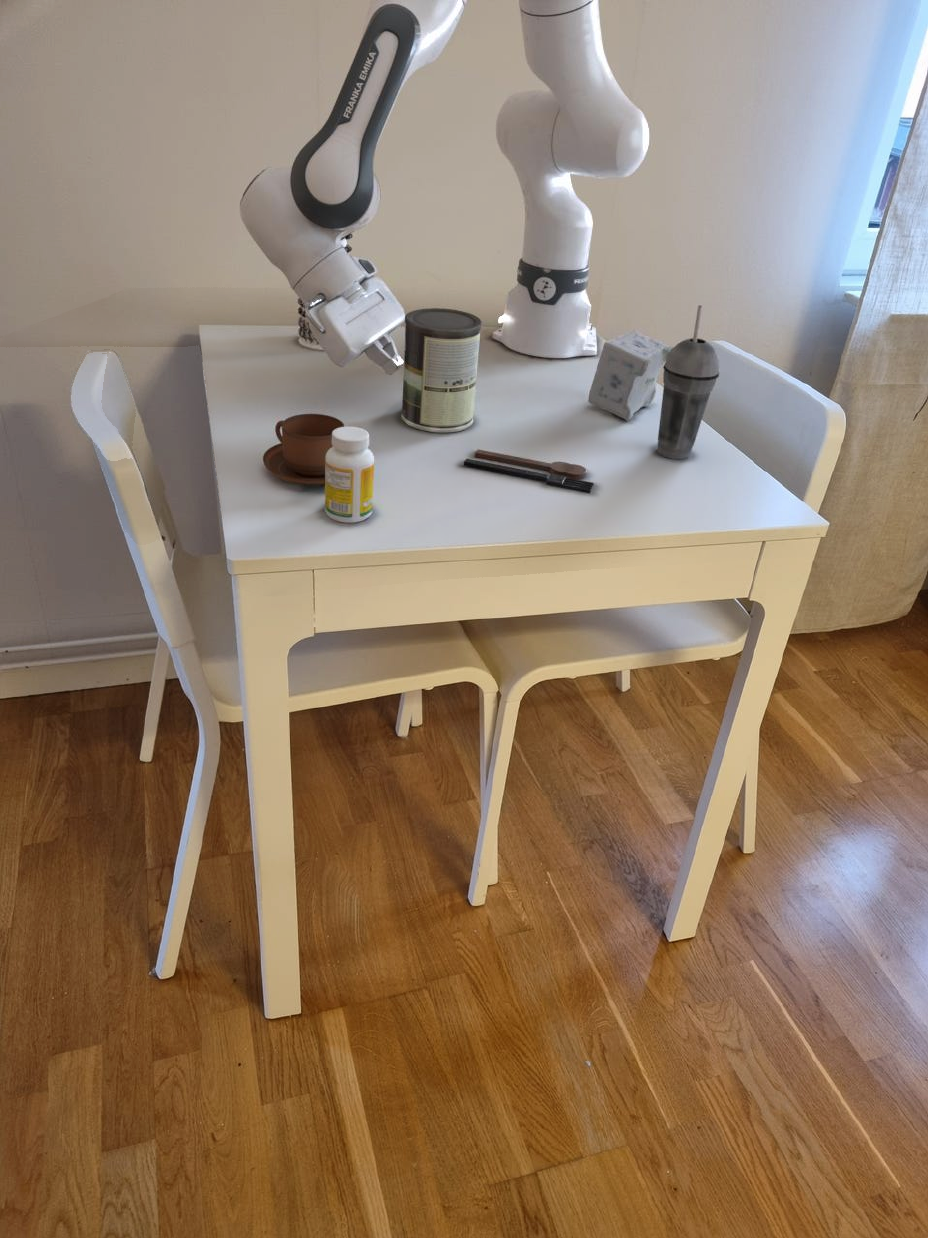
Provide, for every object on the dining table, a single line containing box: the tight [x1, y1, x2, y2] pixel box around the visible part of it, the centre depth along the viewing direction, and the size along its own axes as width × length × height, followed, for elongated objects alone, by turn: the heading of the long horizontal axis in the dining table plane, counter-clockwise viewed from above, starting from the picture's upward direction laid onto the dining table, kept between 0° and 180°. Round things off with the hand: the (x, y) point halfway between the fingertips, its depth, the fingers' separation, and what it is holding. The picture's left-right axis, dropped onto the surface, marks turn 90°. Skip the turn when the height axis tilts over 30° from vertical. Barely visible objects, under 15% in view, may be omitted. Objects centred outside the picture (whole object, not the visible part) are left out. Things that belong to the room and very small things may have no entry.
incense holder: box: [587, 329, 674, 422], centre depth 139 cm, size 10×8×10 cm
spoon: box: [474, 448, 588, 480], centre depth 120 cm, size 3×15×1 cm, turn 73°
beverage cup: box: [656, 305, 720, 460], centre depth 123 cm, size 7×7×20 cm
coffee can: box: [400, 307, 483, 434], centre depth 128 cm, size 10×10×14 cm
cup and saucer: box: [262, 413, 345, 486], centre depth 112 cm, size 12×12×6 cm
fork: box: [463, 458, 594, 494], centre depth 118 cm, size 2×17×1 cm, turn 73°
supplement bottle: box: [324, 426, 375, 524], centre depth 103 cm, size 5×5×10 cm
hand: (397, 369), depth 130 cm, fingers closed
